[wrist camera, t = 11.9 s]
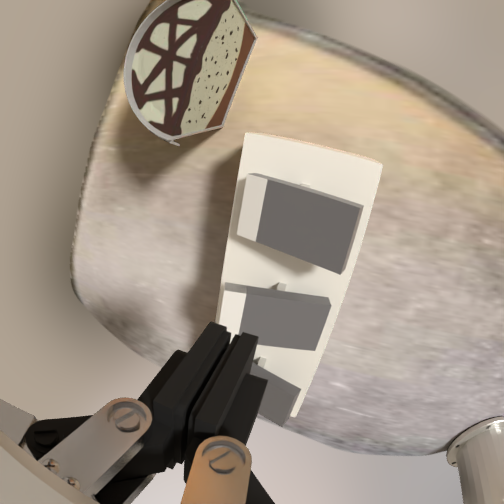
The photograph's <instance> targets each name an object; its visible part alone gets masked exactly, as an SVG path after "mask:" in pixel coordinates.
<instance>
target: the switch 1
mask: <svg viewBox="0 0 504 504" xmlns="http://www.w3.org/2000/svg"><path fill="white" fill-rule="evenodd" d="M363 207H364V205H361V204H358V203H355V202H352V201H349V200H346V199H343V198H340V197H336V196H333V195H330V194H327V193H324V192H321V191H317V190H314V189H311V188H307V187H304V186H301V185H297V184H294V183H291V182H287V181H284V180H280V179H277V178H273V177H270V176H266V175H262V174H259V173H249V174H247V178H246V184H245V189H244V195H243V201H242V207H241V212H240V218H239V224H238V230H237V235H240V236H242V237H245V238H247V239H250V240H252V241H255V242H258V243H260V244H263V245H266V246H268V247H271V248H273V249H276V250H278V251H281V252H283V253H286V254H289V255H291V256H294V257H296V258H299V259H301V260H304V261H306V262H309V263H311V264H314V265H317V266H319V267H322V268H324V269H327V270H329V271H332V272H334V273H337V274H339V275H341V274H342V272H343V271H344V270H345V268H346V265H347V262H348V259H349V256H350V252H351V249H352V246H353V242H354V239H355V236H356V232H357V229H358V225H359V222H360V218H361V215H362V211H363Z"/></svg>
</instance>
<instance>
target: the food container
mask: <svg viewBox="0 0 504 504" xmlns="http://www.w3.org/2000/svg"><path fill="white" fill-rule="evenodd" d="M256 41H257V36H256V34H255V32H254V30H253V29H252V27H251V25H250V23H249V21H248V20H247V18H246V16H245V14H244V13H243V11H242V9H241V7H240V6H239V4H238V2H237V0H166V1H165V2H163V3H162V4H161V5H159V6H158V7H157V8H156V9H155V10H153V11H152V12H151V13H150V14H149V15H148V16H147V17H146V19H145V20H144V21H143V22H142V24H141V25H140V26H139V28H138V29H137V31H136V33H135V34H134V36H133V38H132V40H131V43H130V45H129V48H128V51H127V54H126V58H125V65H124V85H125V92H126V95H127V98H128V101H129V104H130V106H131V108H132V110H133V112H134V113H135V115H136V116H137V118H138V119H139V120H140V122H141V123H142V124H143V125H144V126H145V127H146V128H147V129H149V130H150V131H151V132H152V133H153V134H155V135H156V136H158V137H159V138H161V139H163V140H165V141H167V142H169V143H171V144H174V145H177V146H180V144H179V143H176V142H174V140H175V139H179V138H183V137H186V136H190V135H194V134H198V133H202V132H206V131H211V130H215V129H219V128H223V125H224V123H225V120H226V117H227V115H228V112H229V109H230V106H231V104H232V101H233V98H234V96H235V93H236V91H237V88H238V85H239V83H240V80H241V78H242V75H243V73H244V70H245V68H246V65H247V63H248V60H249V58H250V55H251V53H252V50H253V48H254V45H255V43H256Z"/></svg>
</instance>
